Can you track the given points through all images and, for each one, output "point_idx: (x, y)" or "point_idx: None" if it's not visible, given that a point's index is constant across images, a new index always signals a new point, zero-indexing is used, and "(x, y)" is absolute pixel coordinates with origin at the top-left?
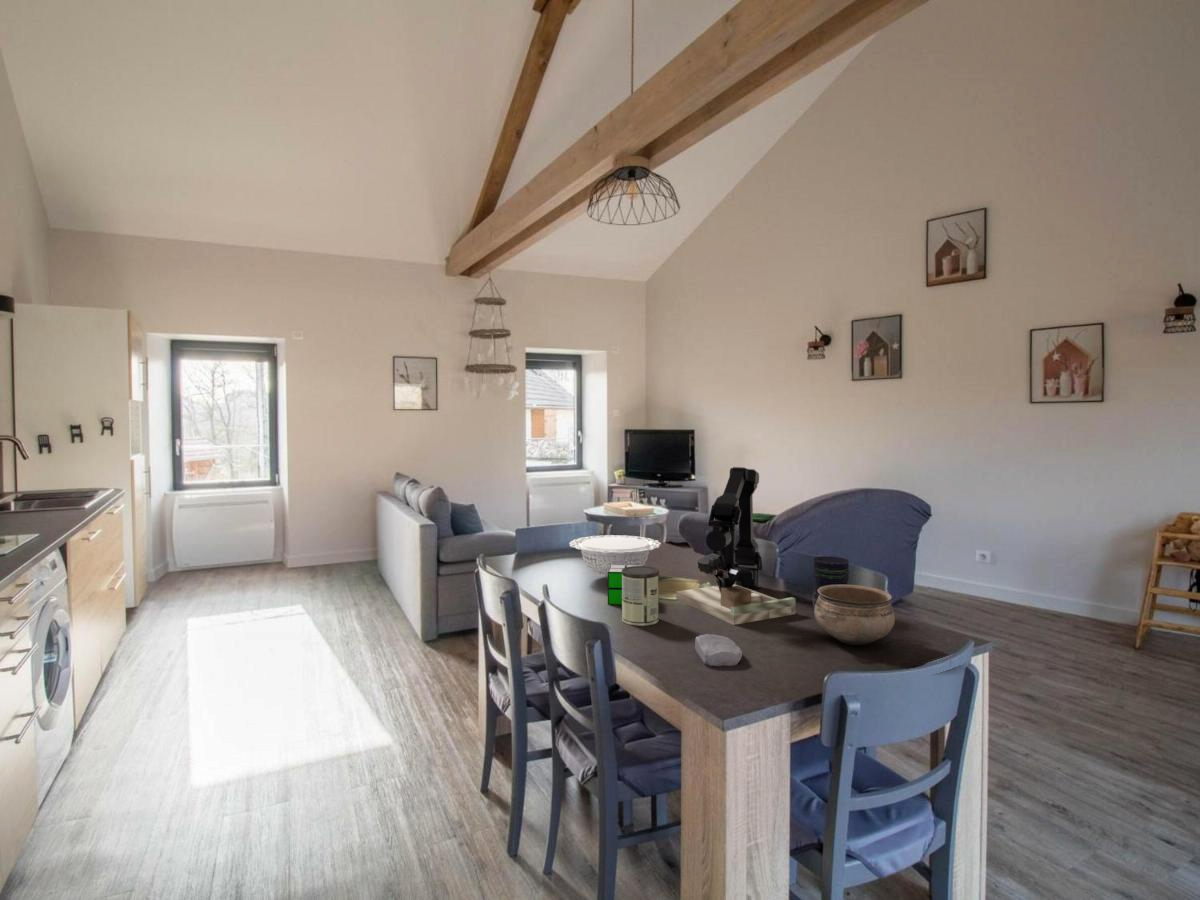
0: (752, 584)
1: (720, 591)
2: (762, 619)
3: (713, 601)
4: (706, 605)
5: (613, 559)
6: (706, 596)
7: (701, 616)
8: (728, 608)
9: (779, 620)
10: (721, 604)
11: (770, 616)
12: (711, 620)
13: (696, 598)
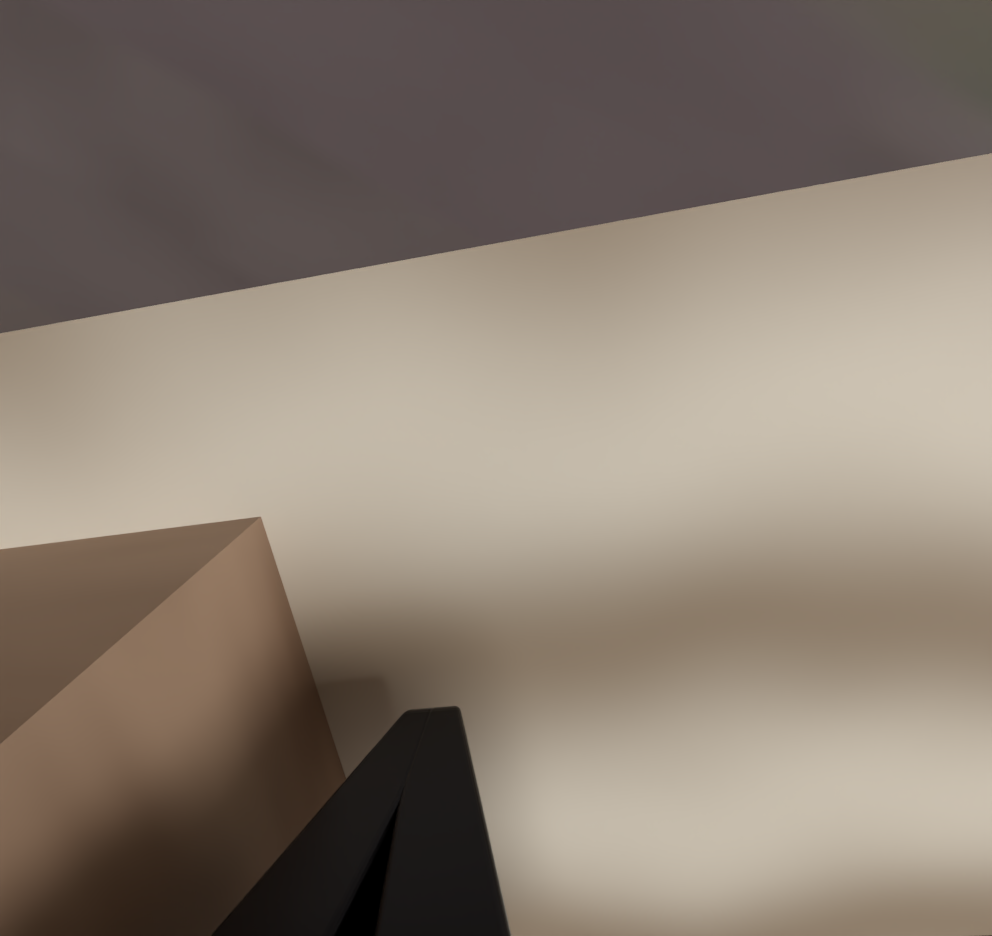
0: None
1: (451, 818)
2: None
3: (560, 519)
4: (406, 262)
5: None
6: (974, 567)
7: (257, 63)
8: (27, 546)
9: None
10: (223, 532)
11: None
12: (9, 142)
13: (972, 259)
